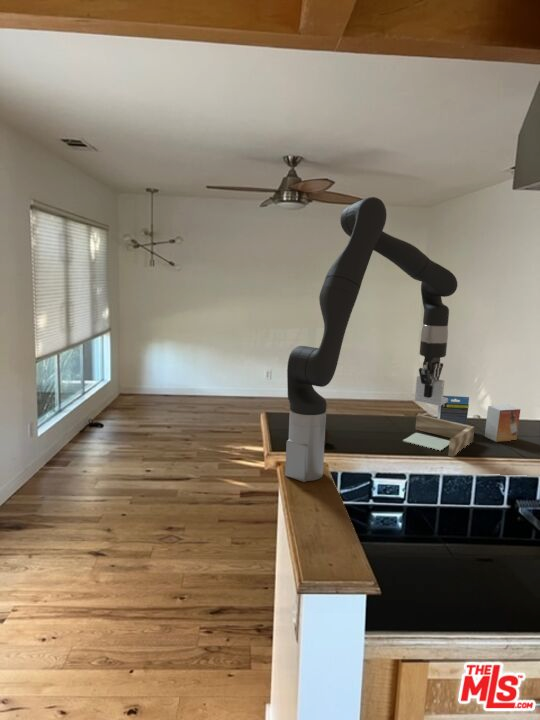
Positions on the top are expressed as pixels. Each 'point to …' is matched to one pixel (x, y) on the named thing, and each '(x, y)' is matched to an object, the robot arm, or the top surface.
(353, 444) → the top surface
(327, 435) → the bolt
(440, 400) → the angle bracket
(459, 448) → the corner walls
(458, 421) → the label tape box
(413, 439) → the pad
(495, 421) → the small box
